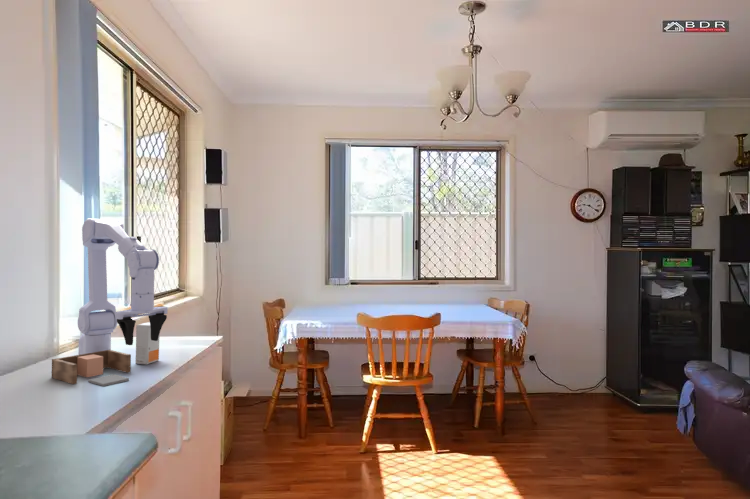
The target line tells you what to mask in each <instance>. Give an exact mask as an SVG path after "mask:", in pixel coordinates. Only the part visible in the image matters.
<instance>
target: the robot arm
mask: <svg viewBox="0 0 750 499" xmlns="http://www.w3.org/2000/svg"><path fill="white" fill-rule="evenodd" d="M81 228H82V229H81V231H82V232H81V235H82V237H81V238H82V245H83V247H85V248H87V266H88V267H87V268H88V270H87V271H88V272H87V273H88V301H87V302H86V303H85V304H84V305H82V306H81V307H80V308H79V310H78V317H77V328H78V330H79V332H80V333H82V334H81V335H80V337H79V339H78V354H77V355H80V354H86V353H92V352H98V351H104V350H112V345H111V344H112V333H114V331H115V329H116V328H117V326H119V328H120V330H121V333H122V335H123V338H124V341H125V342H124V343H125V345H127V346H133V343H134V330H135V325H136V321H137V320H134V319H133V318H138V317H139V318H140V317H148V319H149V322H150V327H151V340H153V341H158V337H159V338H160V334H159V333H161V330H162V328H163V325H164V323H165V322H166V320H167V319H168V316H167V315H168V313H169V312H168V311H169V310H168V308H169V307H168V306H155V271H156V270H157V269H158V268H159V267H158V266H159V264H160V257H159V253H158V252H157V251H156V249H154V248H153V249H151V248H150V249H148V248H146V246H144V245H143V243H141V242H140V241H139V240H138V238H137V236H129V235H128V234H127V233H126V231H125V229H124V223H123V222H122V220H120V219H103V218H91V217H88V218H86V219H85V221H84V222H83V225H82V227H81ZM115 244H116V245H117V249H118V250H117V251H118V252H119V254H121V255H122V256H123V257H124V258H125V259H126V260H127V261H126V263H127V267H128V270H129V273H128V274H129V277H131V292H130V293H131V296H130V298H131V302H130V306H131V307H130V309H125V310H118V311H117V309H116V306H115V305H114V304H113V303H111V302H110V301H108V279H107V278H108V277H107V276H108V274H107V272H108V271H107V250H108V248H110V247H113V246H115Z"/></svg>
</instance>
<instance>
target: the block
mask: <svg viewBox="0 0 750 499" xmlns="http://www.w3.org/2000/svg"><path fill="white" fill-rule="evenodd" d="M100 375H104V368H103V356H99V355H95V354H92V355H86V356H80V357H77V376H81V377H84V378H89V377H90V378H91V377H95V376H100Z"/></svg>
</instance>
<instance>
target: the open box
mask: <svg viewBox="0 0 750 499" xmlns="http://www.w3.org/2000/svg"><path fill="white" fill-rule="evenodd" d="M92 354H95V355H99V356H103V369H107V368H108V369H112V370H115V371H120V372H124V373H127V374H128V373H131V369H132V365H131V363H132V362H131V361H132V360H131V359H132V358H131V357H132V354H130V353H126V352H121V351H117V350H113V349H111V350H104V351H98V352H92V353H86V354H80V355H78V354H76V355H75V354H74V355H70V356H69V355H68V356H63V357H58V358H52V359H51V378H52V379H55V380H58V381H62V382H65V383H68V384H71V385H74V384H75V385H76V384H78V375H77V357H80V356H86V355H92Z"/></svg>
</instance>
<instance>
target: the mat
mask: <svg viewBox="0 0 750 499" xmlns="http://www.w3.org/2000/svg"><path fill="white" fill-rule="evenodd" d="M129 381H130V378H129V377H125V376H121V375H118V374H115V373H114V374H109V375H104V376H99V377H96V378H91V379H90V378H89V379H88V383H90V384H93V385H96V386H97V385H98V386H101V387H106V386H110V385H115V384H119V383H120V384H121V383H123V382H124V383H125V382H129Z"/></svg>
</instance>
